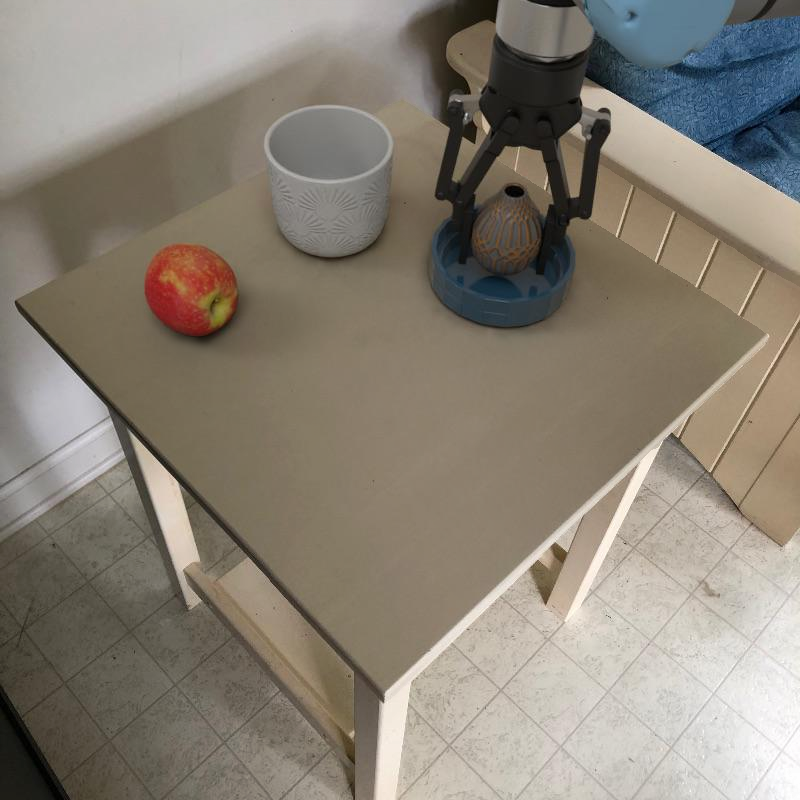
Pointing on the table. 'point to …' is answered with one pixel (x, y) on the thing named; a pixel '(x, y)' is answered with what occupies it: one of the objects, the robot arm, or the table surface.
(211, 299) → the apple
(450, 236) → the bowl
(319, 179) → the planter
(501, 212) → the vase
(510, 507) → the table surface
